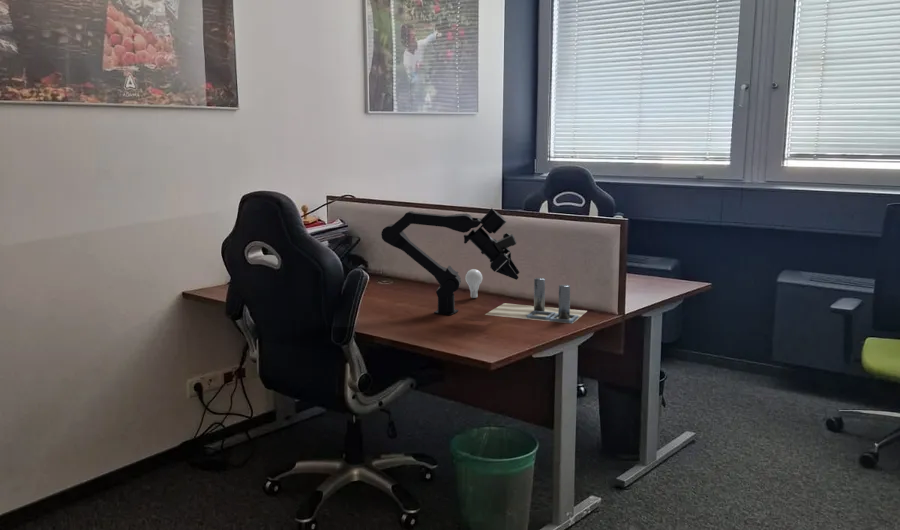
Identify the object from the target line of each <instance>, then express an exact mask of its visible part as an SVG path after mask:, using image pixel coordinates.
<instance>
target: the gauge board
mask: <svg viewBox="0 0 900 530" xmlns="http://www.w3.org/2000/svg"><path fill="white" fill-rule="evenodd" d="M558 311H559V307H550V306H545V311H535V310H534V305H529V304H528V305H526V304H515V303H504V302H503V303H502V304H500V305H499V306H497V307H495V308H493V309H492V310H490V311H488V312H487V313H485V314H484V315H485V316H493V317H494V316H495V317H504V318H513V319H523V320H533V321H544V322H555V323H563V324H564V323H565V324H574V323H576V322H577V321H578V320H579V319H580V318H581V317H583V315H585V314H586V313H587V312H588V310H584V309H583V310H582V309H571V308H570V320H569V319H558Z"/></svg>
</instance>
